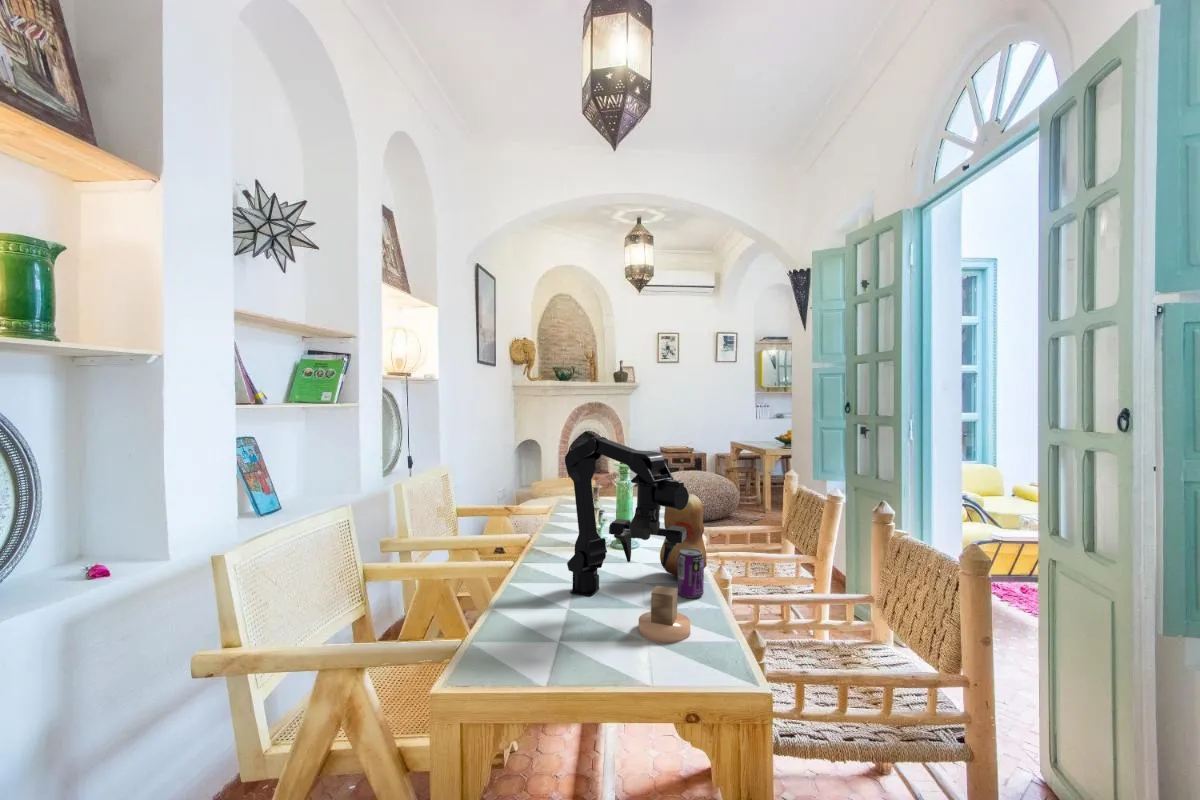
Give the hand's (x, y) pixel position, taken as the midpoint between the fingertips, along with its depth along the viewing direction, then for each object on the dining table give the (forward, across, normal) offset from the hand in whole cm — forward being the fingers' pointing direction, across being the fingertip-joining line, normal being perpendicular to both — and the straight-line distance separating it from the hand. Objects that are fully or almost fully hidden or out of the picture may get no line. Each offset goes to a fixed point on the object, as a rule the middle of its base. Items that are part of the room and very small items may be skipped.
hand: (646, 564), depth 145 cm
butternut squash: (+13, +3, +31) cm, 34 cm away
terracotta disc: (+12, +7, -9) cm, 17 cm away
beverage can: (+13, +8, +17) cm, 23 cm away
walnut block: (+10, +7, -9) cm, 15 cm away
